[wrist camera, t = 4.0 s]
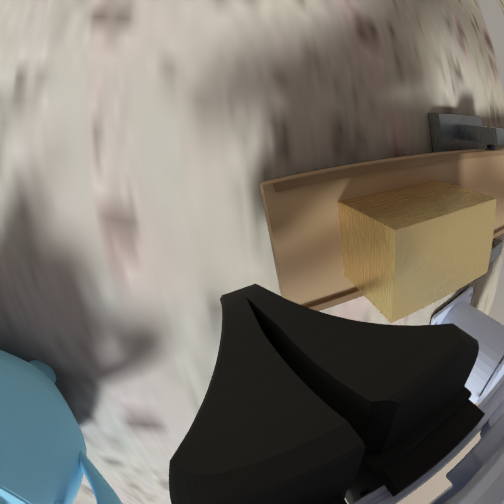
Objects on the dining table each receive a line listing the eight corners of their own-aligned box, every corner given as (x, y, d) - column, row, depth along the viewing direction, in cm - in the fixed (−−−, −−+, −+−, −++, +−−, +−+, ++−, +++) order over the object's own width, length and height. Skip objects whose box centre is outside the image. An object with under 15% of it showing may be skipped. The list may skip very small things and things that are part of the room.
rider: (436, 242, 15) (487, 272, 11) (344, 275, 14) (390, 322, 10) (437, 180, 13) (496, 198, 9) (337, 201, 13) (395, 230, 8)
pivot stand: (474, 237, 21) (508, 252, 17) (432, 263, 20) (473, 285, 15) (472, 116, 16) (513, 120, 12) (428, 113, 15) (480, 115, 11)
